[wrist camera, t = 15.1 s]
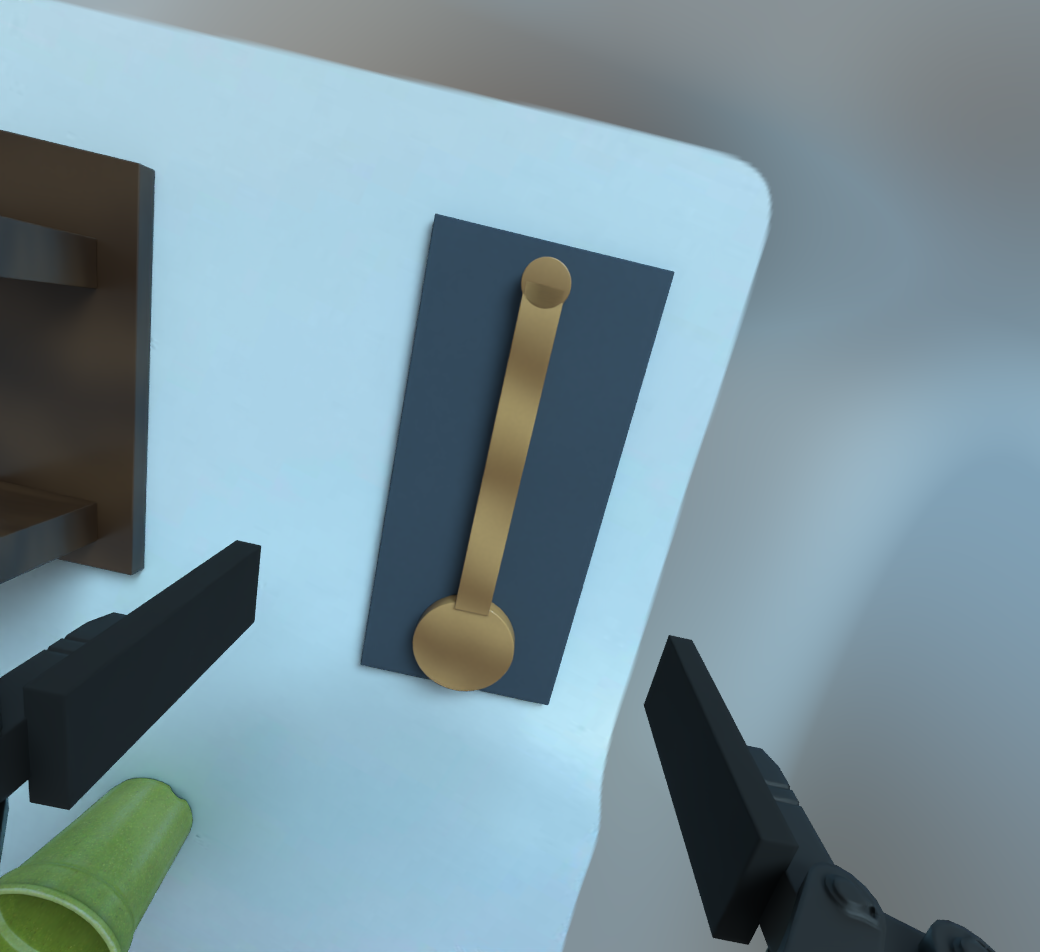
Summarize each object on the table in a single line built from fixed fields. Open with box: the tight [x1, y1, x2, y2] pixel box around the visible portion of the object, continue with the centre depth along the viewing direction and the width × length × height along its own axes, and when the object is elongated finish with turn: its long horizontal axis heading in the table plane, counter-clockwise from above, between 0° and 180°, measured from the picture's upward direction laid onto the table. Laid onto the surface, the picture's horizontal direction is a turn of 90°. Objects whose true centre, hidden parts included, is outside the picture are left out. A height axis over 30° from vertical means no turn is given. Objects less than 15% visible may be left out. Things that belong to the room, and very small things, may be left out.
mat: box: [361, 214, 674, 705], centre depth 28 cm, size 26×12×1 cm, turn 167°
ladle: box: [413, 257, 571, 691], centre depth 27 cm, size 25×6×1 cm, turn 167°
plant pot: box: [0, 778, 193, 952], centre depth 31 cm, size 9×9×9 cm
